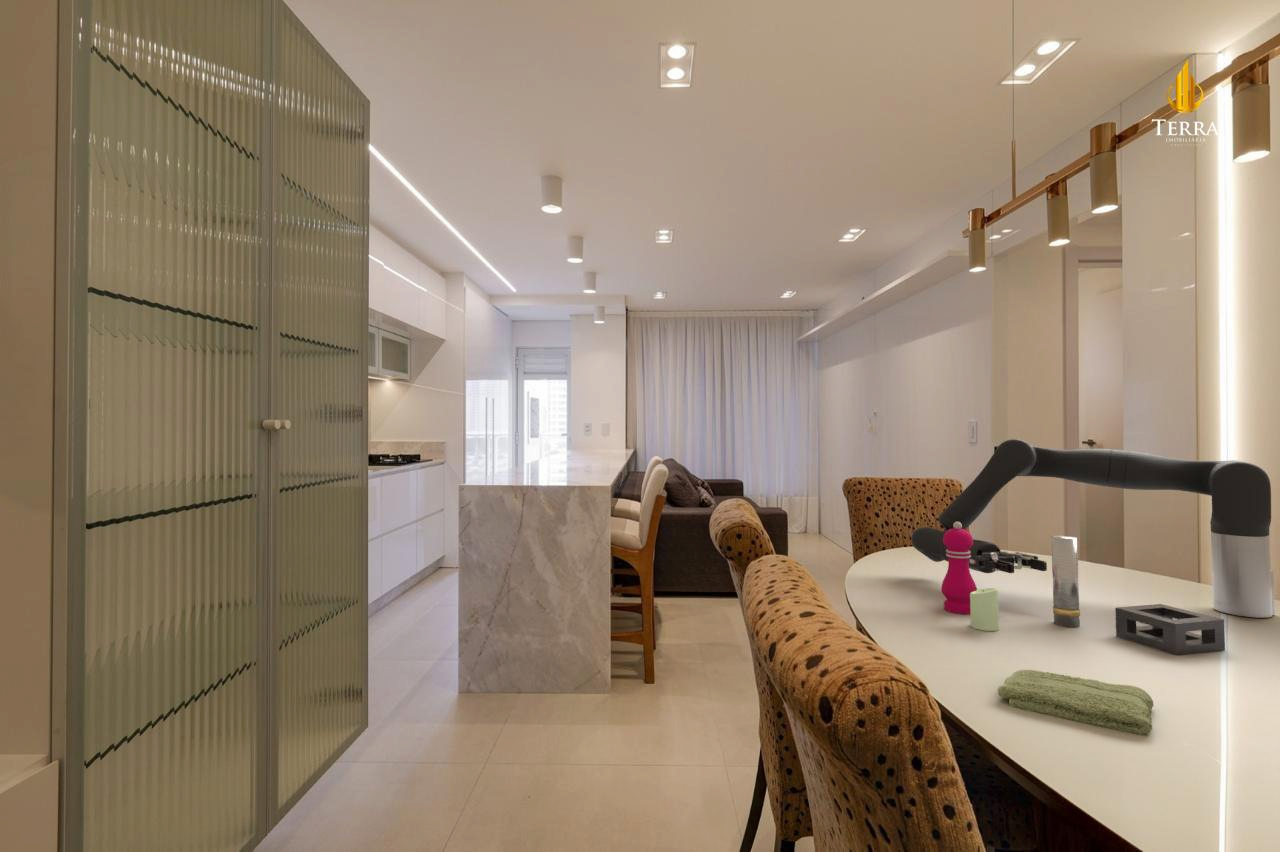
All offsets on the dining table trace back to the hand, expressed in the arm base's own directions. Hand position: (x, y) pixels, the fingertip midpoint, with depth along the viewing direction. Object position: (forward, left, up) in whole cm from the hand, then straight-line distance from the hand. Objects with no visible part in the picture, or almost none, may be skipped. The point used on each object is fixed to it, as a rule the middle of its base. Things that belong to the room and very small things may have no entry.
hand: (1029, 567), depth 135 cm
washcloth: (+33, +41, -11) cm, 54 cm away
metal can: (0, +9, -10) cm, 13 cm away
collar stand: (-8, +23, -10) cm, 26 cm away
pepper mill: (+14, -5, -10) cm, 18 cm away
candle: (+18, +7, -10) cm, 22 cm away
